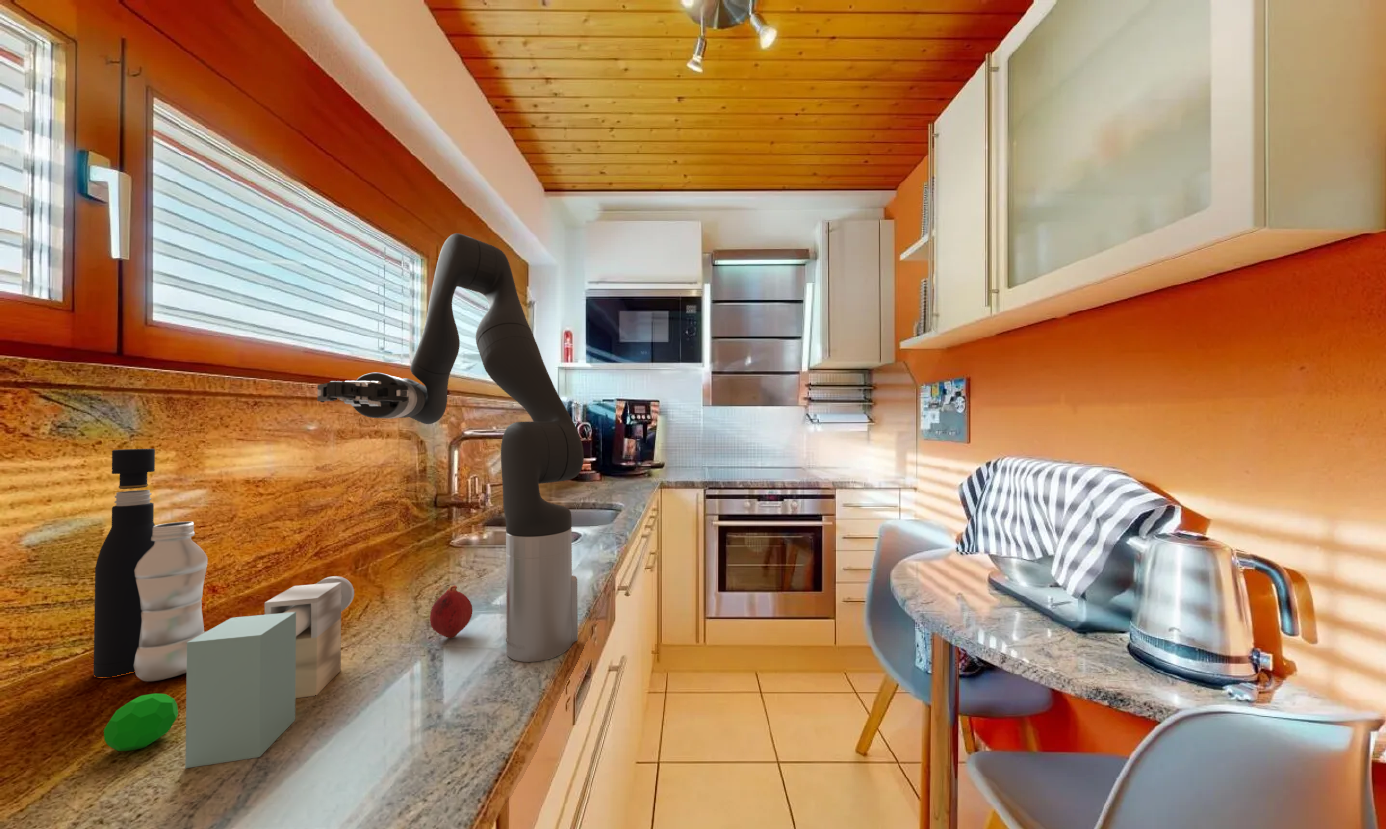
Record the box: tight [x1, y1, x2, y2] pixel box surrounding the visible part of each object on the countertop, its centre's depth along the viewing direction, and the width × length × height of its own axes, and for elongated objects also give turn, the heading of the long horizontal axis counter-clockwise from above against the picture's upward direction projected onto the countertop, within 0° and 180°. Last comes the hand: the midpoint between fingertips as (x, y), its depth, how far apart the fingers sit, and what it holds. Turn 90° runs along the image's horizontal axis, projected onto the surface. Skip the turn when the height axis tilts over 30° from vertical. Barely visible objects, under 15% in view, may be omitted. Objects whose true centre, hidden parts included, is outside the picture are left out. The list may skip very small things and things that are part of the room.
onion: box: [429, 584, 473, 639], centre depth 72 cm, size 6×6×8 cm
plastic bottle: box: [133, 521, 209, 682], centre depth 62 cm, size 6×7×20 cm
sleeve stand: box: [264, 582, 342, 699], centre depth 59 cm, size 6×5×12 cm
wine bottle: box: [93, 448, 156, 677], centre depth 65 cm, size 6×6×30 cm
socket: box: [184, 612, 296, 769], centre depth 49 cm, size 6×6×12 cm
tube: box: [284, 575, 355, 636], centre depth 58 cm, size 18×5×5 cm, turn 14°
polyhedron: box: [103, 692, 179, 752], centre depth 48 cm, size 5×5×5 cm
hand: (335, 389), depth 64 cm, fingers closed
